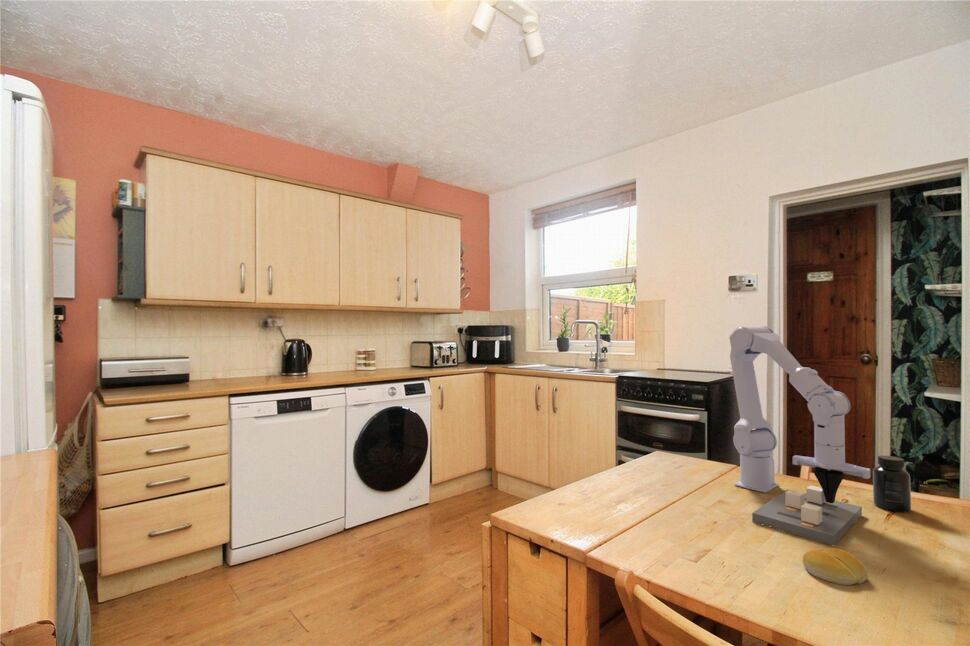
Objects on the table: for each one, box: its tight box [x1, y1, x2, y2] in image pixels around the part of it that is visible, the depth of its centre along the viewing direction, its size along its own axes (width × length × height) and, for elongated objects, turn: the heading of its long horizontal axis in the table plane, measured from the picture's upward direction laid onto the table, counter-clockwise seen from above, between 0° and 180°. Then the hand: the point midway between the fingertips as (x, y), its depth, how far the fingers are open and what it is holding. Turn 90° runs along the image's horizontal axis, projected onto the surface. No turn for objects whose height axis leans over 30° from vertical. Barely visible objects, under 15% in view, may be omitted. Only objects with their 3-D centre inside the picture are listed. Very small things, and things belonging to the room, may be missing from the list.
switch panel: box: [751, 489, 863, 547], centre depth 104 cm, size 23×15×2 cm, turn 129°
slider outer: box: [801, 503, 822, 525], centre depth 98 cm, size 3×3×3 cm
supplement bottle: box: [872, 455, 912, 513], centre depth 110 cm, size 7×7×12 cm
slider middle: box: [785, 489, 806, 509], centre depth 106 cm, size 3×3×3 cm
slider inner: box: [805, 485, 825, 504], centre depth 109 cm, size 3×3×3 cm
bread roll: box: [802, 547, 869, 586], centre depth 81 cm, size 8×9×4 cm
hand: (830, 501), depth 107 cm, fingers closed
